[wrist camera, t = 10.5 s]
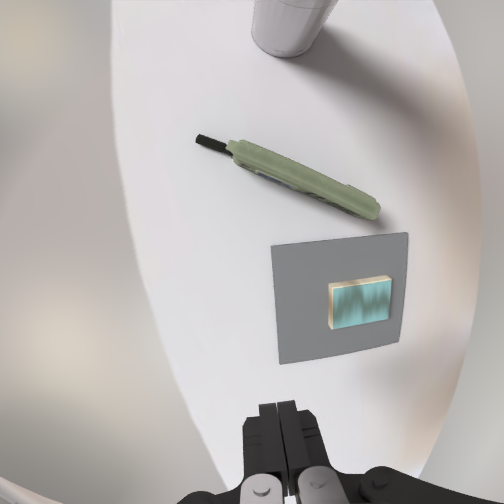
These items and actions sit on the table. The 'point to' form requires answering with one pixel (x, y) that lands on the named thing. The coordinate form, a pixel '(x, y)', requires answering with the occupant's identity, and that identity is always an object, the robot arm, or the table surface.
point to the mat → (317, 293)
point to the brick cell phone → (296, 176)
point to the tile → (359, 301)
